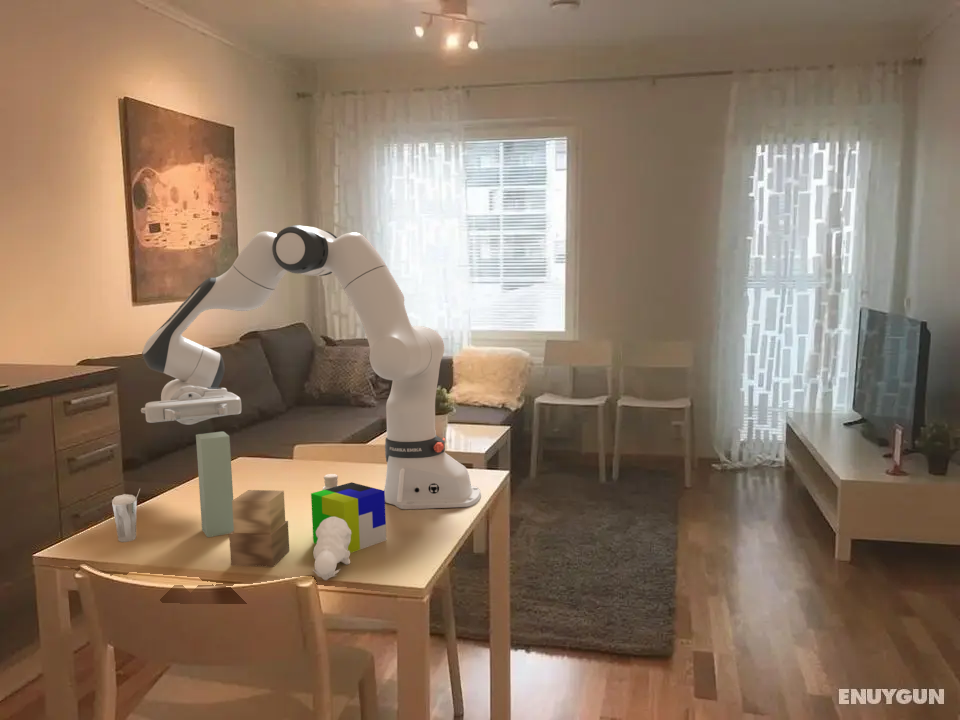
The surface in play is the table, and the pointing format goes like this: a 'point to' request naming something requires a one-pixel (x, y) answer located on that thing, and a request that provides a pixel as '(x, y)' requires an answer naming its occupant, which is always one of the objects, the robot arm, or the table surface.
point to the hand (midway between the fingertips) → (199, 414)
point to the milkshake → (125, 516)
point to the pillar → (215, 483)
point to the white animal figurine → (331, 546)
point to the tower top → (258, 511)
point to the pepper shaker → (330, 481)
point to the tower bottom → (259, 547)
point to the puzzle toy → (352, 512)
